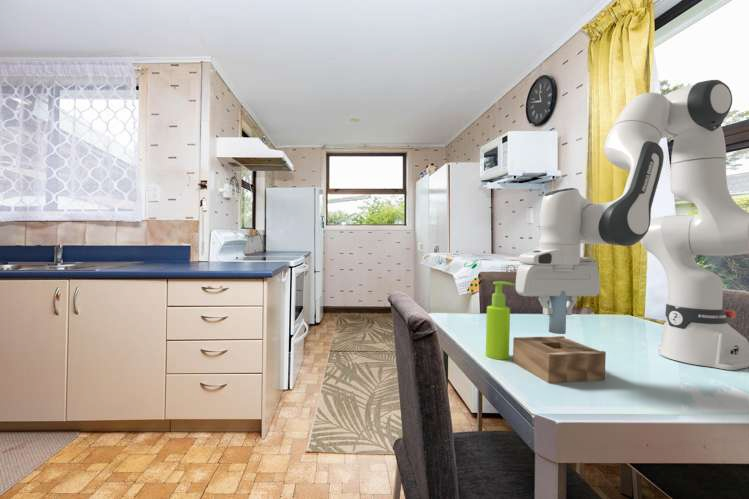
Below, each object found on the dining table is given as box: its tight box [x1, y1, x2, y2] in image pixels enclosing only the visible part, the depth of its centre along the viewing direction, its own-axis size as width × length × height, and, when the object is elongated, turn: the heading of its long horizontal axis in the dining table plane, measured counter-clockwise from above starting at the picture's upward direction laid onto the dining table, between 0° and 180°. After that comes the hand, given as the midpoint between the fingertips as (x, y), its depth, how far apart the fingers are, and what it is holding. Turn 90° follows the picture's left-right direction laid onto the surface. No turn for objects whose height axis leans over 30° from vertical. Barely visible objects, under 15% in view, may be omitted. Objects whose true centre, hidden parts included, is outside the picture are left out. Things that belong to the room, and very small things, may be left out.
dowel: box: [548, 291, 568, 335], centre depth 87 cm, size 4×4×10 cm
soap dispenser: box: [485, 280, 516, 361], centre depth 97 cm, size 6×7×20 cm
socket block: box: [512, 335, 607, 384], centre depth 87 cm, size 14×14×6 cm
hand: (557, 314), depth 87 cm, fingers closed on dowel, 4 cm apart
